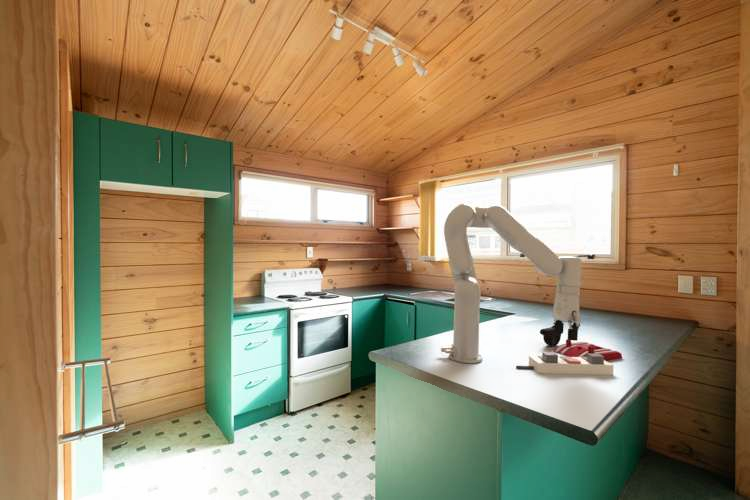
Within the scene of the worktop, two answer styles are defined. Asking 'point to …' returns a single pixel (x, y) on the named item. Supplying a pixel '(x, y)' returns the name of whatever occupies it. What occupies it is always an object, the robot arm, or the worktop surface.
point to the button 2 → (572, 361)
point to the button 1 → (549, 357)
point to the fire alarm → (586, 350)
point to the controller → (550, 336)
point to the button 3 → (595, 358)
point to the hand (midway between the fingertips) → (565, 336)
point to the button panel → (568, 366)
